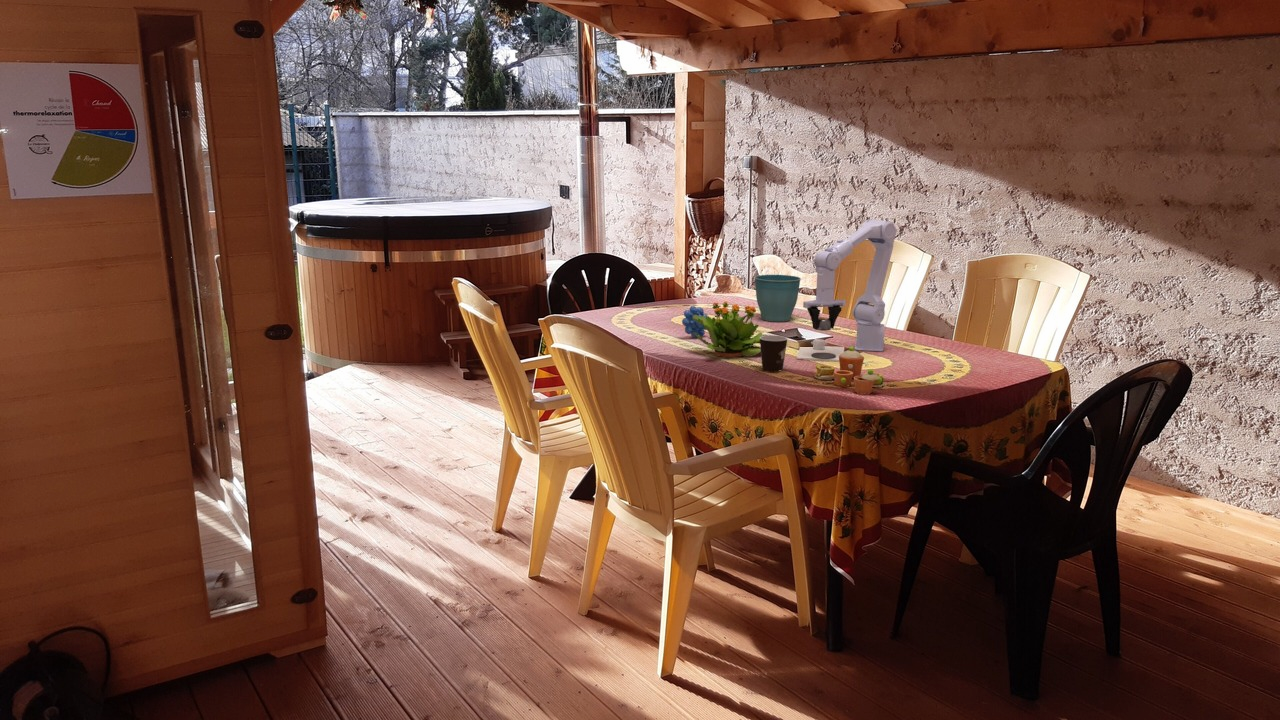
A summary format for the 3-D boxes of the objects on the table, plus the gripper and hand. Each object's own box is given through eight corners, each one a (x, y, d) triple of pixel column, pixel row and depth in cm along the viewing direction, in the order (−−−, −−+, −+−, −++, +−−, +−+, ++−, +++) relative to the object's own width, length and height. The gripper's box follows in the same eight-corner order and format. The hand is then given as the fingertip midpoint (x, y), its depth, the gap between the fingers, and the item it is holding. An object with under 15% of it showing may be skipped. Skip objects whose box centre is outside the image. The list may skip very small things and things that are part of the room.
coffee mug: (769, 373, 294) (770, 342, 291) (753, 367, 301) (754, 336, 299) (799, 369, 299) (800, 338, 296) (783, 363, 306) (784, 333, 304)
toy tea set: (807, 376, 291) (808, 346, 289) (848, 372, 297) (850, 341, 295) (859, 397, 268) (861, 364, 266) (903, 392, 274) (905, 359, 272)
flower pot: (767, 313, 391) (768, 272, 387) (806, 318, 381) (808, 276, 377) (745, 320, 377) (746, 278, 373) (785, 325, 367) (787, 282, 363)
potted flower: (732, 366, 302) (733, 312, 298) (675, 355, 318) (676, 303, 314) (777, 353, 320) (779, 302, 316) (721, 343, 336) (722, 294, 332)
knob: (833, 330, 313) (833, 318, 312) (819, 330, 312) (819, 319, 311) (826, 327, 318) (826, 316, 317) (812, 328, 316) (812, 316, 316)
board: (844, 348, 328) (844, 338, 327) (843, 361, 309) (843, 351, 308) (800, 346, 331) (800, 336, 330) (796, 359, 312) (797, 348, 311)
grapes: (689, 341, 338) (689, 308, 335) (678, 338, 343) (678, 305, 341) (715, 338, 344) (715, 305, 341) (704, 335, 350) (704, 302, 347)
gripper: (839, 285, 317) (837, 325, 320) (799, 286, 313) (798, 327, 316) (849, 288, 310) (847, 329, 313) (809, 290, 306) (807, 331, 309)
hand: (823, 328), depth 314 cm, fingers closed on knob, 5 cm apart
